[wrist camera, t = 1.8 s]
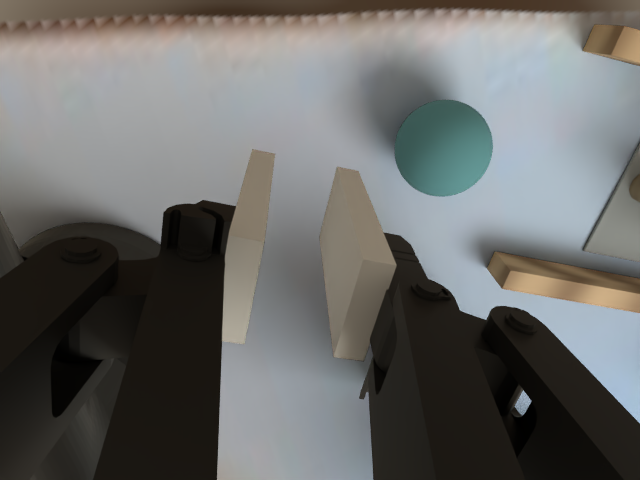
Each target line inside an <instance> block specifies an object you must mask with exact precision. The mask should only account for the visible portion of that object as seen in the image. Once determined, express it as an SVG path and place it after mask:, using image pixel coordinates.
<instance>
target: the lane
mask: <svg viewBox="0 0 640 480" xmlns="http://www.w3.org/2000/svg"><path fill="white" fill-rule="evenodd" d="M583 51H585V52H589V53H592V54H596V55H600V56H604V57H607V58H611V59H615V60H619V61H623V62H626V63H630V64H634V65H638V66H640V30H637V29H633V28H630V27H626V26H614V25H594V27H593V29H592V31H591V33H590V36H589V38H588V40H587V42H586V45H585V47H584V49H583ZM487 269H488V271H489V272H490V273H491V275H492V276H493V277H494V279H495V280H496V281H497V283H498V284H499V285H500V287H501V288H502V289H506V290H512V291H517V292H523V293H529V294H534V295H540V296H546V297H551V298H557V299H563V300H569V301H574V302H580V303H586V304H591V305H597V306H603V307H608V308H614V309H620V310H625V311H631V312H637V313H640V279H639V278H634V277H628V276H623V275H618V274H613V273H607V272H602V271H597V270H591V269H586V268H581V267H575V266H570V265H565V264H559V263H554V262H549V261H543V260H538V259H533V258H528V257H522V256H517V255H512V254H506V253H501V252H496V251H495V252H494V254H493V256H492V259H491V261H490V263H489V265H488V268H487Z"/></svg>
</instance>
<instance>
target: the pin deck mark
mask: <svg viewBox="0 0 640 480" xmlns="http://www.w3.org/2000/svg"><path fill="white" fill-rule="evenodd" d="M639 174H640V144H639V145H638V147H637V149H636V151H635V153H634V155H633V157H632V159H631V160H630V162H629V164H628V166H627V168H626V170H625V172H624V174H623V175H622V177H621V179H620V181H619V183H618V185H617V187H616V189H615V191H614V192H613V194H612V196H611V198H610V200H609V202H608V204H607V206H606V207H605V209H604V211H603V213H602V215H601V217H600V219H599V221H598V223H597V224H596V226H595V228H594V230H593V232H592V234H591V236H590V238H589V239H588V241H587V243H586V245H585V247H584V249H583V251H585V252H590V253H595V254H600V255H606V256H611V257H616V258H621V259H626V260H631V261H637V262H640V202H638V201H636V200H634V199H633V198H632V197H631V196H630V193H629V188H630V185H631V183H632V181H633V180H634V178H635V177H636V176H638V175H639Z"/></svg>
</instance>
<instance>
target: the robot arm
mask: <svg viewBox="0 0 640 480" xmlns="http://www.w3.org/2000/svg"><path fill="white" fill-rule="evenodd" d="M274 158H275V154H273V153H268V152H263V151H258V150H254V149H252V153H251V156H250V160H249V163H248V167H247V170H246V174H245V177H244V181H243V184H242V188H241V192H240V195H239V199H238V202H237V206H232V205H226V204H221V203H216V202H210V201H205V200H202V201H200V202H199V203H197V204H180V205H175V206H172V207H169V208H167V210H166V211H165V212H164V214H163V225H162V237H161V245H159V244H158V243H156V242H154V241H153V240H151V239H149V238H147V237H145V236H143V235H141V234H139V233H136V232H134V231H131V230H128V229H125V228H121V227H118V226H113V225H108V224H101V223H75V224H67V225H62V226H59V227H55V228H52V229H49V230H47V231H44V232H42V233H40V234H38V235H37V236H35V237H33V238H32V239H30V240H29V241H28V242H27V243H25V244H24V245H23V246H22V247H21V248H20V249H19V250H18V247H17V245H16V243H15V241H14V239H13V237H12V235H11V233H10V231H9V229H8V227H7V225H6V223H5V220H4V218H3V216H2V214H1V212H0V480H217V460H218V434H219V407H220V380H221V353H222V341H225V342H232V343H239V344H245V339H246V333H247V328H248V323H249V318H250V313H251V308H252V303H253V298H254V293H255V288H256V282H257V277H258V272H259V267H260V262H261V257H262V252H263V247H264V242H265V233H266V225H267V217H268V208H269V200H270V192H271V183H272V175H273V167H274ZM319 239H320V247H321V256H322V264H323V272H324V281H325V289H326V298H327V306H328V315H329V323H330V332H331V340H332V349H333V357H336V358H343V359H350V360H357V361H364V359H365V357H366V354H367V351H368V348H369V345H370V343H371V348H372V352H373V358H372V361H371V364H370V367H369V370H368V372H367V375H366V378H365V381H364V384H363V387H362V390H361V393H360V397H359V399H364V397H365V394H366V392H368V391H369V408H370V426H371V443H372V461H373V479H374V480H640V423H639V422H638V421H637V420H636V419H635V418H634V417H633V416H632V415H631V414H630V413H629V412H628V411H627V410H626V409H625V408H624V407H623V406H622V405H621V404H620V403H619V402H618V401H617V400H616V399H615V397H614V396H613V395H612V394H611V393H610V392H609V391H608V390H607V389H606V388H605V387H604V386H603V385H602V384H601V383H600V382H599V381H598V380H597V379H596V378H595V377H594V376H593V375H592V374H591V373H590V371H589V370H588V369H587V368H586V367H585V366H584V365H583V364H582V363H581V362H580V361H579V360H578V359H577V358H576V357H575V356H574V355H573V354H572V353H571V352H570V351H569V350H568V349H567V348H566V347H565V345H564V344H563V343H562V342H561V341H560V340H559V339H558V338H557V337H556V336H555V335H554V334H553V333H552V332H551V331H550V330H549V329H548V328H547V327H546V326H545V325H544V324H543V323H542V322H540V321H539V320H538V319H537V318H535V317H533V316H531V315H530V314H529V313H528V312H526V311H524V310H522V311H521V309H518V308H515V307H514V308H512V307H507V306H496V307H495V308H493V309H491V311H490V313H489V316H488V318H487V320H484V319H481V318H478V317H475V316H473V315H470V314H467V313H464V312H462V311H460V310H459V307H458V305H457V302H456V300H455V298H454V296H453V295H452V293H451V292H450V291H449V290H448V289H446V288H445V287H444V286H442V285H440V284H438V283H436V282H434V281H432V280H429V279H428V278H427V276H426V274H425V272H424V270H423V268H422V266H421V264H420V263H419V260H418V258H417V256H415V252H414V250H413V248H412V246H411V245H410V244H409V243H408V242H407V241H406V240H405V239H403V238H402V237H401V236H399V235H394V234H389V233H383V230H382V228H381V225H380V223H379V221H378V218H377V216H376V213H375V211H374V208H373V206H372V203H371V201H370V198H369V196H368V194H367V191H366V189H365V186H364V184H363V181H362V179H361V176H360V174H359V171H355V170H351V169H346V168H341V167H337V169H336V173H335V177H334V181H333V185H332V189H331V193H330V197H329V201H328V205H327V209H326V213H325V217H324V220H323V224H322V228H321V232H320V236H319ZM523 390H524V391H525V393H526V394H527V395H528V397H529V398H530V399H531V401H532V402H531V404H530V405H529V407H528V409H527V411H526V412H525V414H524V415H523V416H522V415H521V414H520V413H519V412H518V411H517V410H516V408H515V407H514V406H515V404H516V402H517V400H518V399H519V397H520V395H521V393H522V391H523Z"/></svg>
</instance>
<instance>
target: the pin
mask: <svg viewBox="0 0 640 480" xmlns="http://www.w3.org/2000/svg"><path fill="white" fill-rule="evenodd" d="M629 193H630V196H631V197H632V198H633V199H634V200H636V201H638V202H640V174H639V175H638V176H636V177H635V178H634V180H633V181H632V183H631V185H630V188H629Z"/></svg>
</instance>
